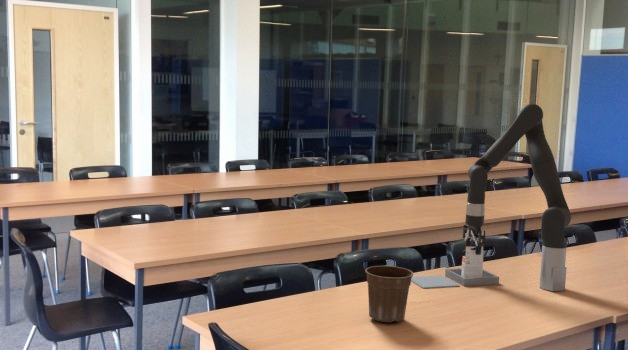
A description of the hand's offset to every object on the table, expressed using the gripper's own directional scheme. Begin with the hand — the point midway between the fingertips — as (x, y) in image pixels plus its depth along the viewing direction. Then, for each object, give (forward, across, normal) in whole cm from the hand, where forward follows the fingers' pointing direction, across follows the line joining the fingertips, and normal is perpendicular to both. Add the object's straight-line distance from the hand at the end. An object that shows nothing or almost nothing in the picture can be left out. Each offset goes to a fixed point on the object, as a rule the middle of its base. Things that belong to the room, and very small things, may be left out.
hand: (472, 252), depth 293 cm
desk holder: (+12, 0, 0) cm, 12 cm away
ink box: (+12, 0, 0) cm, 12 cm away
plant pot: (+12, -39, +54) cm, 67 cm away
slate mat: (+12, 0, +18) cm, 22 cm away
